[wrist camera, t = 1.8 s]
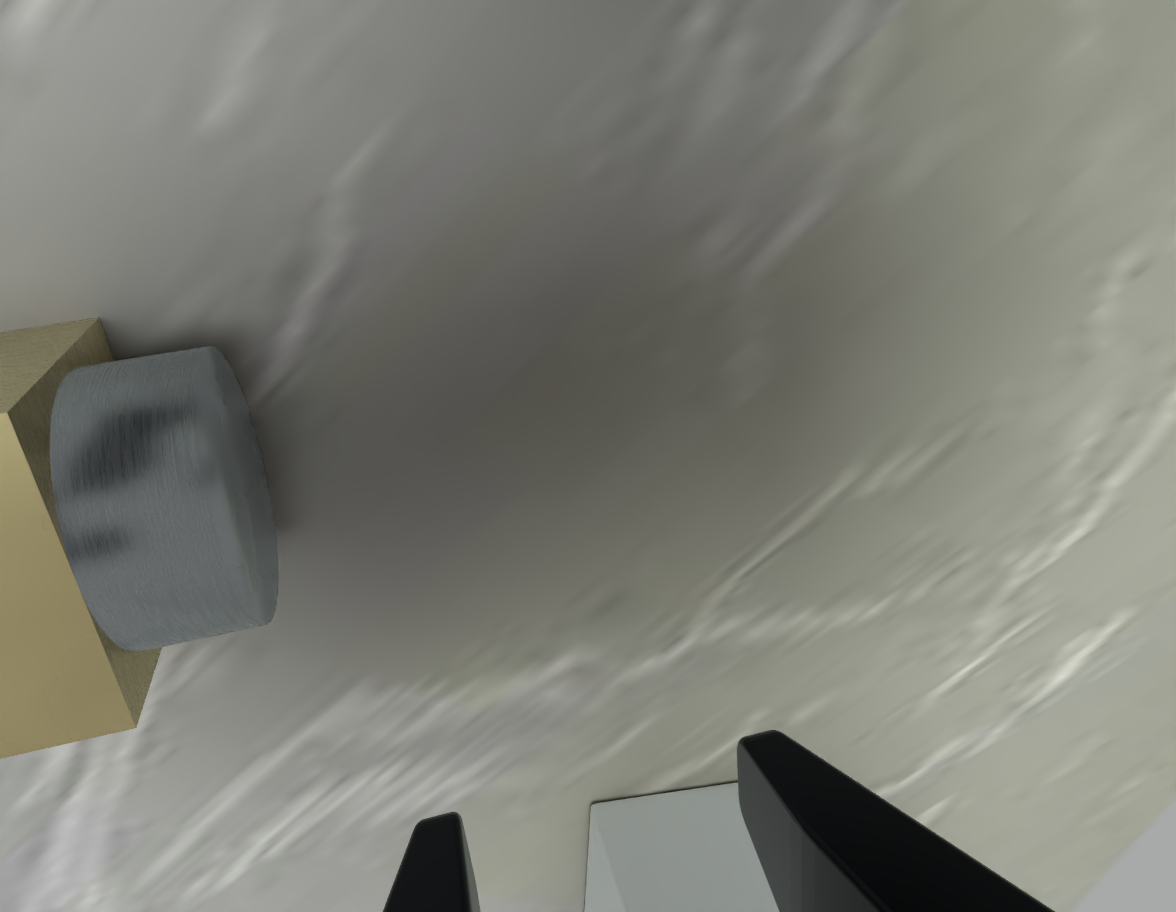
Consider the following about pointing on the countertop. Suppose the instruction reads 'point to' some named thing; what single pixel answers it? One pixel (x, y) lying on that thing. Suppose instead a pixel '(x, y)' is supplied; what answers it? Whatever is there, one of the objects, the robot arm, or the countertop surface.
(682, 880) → the milk
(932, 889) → the robot arm
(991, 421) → the countertop surface
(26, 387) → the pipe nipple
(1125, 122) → the countertop surface
